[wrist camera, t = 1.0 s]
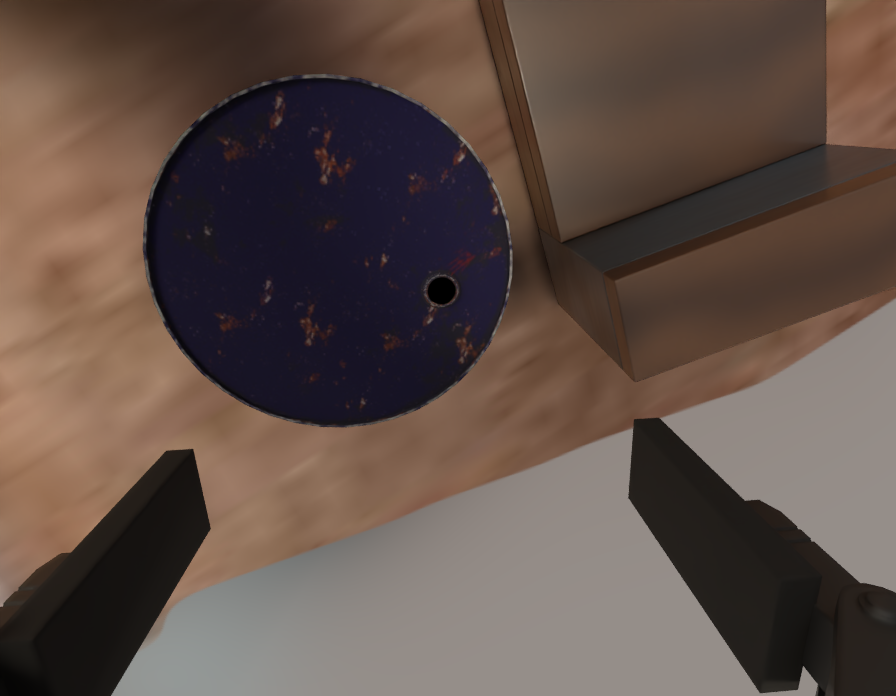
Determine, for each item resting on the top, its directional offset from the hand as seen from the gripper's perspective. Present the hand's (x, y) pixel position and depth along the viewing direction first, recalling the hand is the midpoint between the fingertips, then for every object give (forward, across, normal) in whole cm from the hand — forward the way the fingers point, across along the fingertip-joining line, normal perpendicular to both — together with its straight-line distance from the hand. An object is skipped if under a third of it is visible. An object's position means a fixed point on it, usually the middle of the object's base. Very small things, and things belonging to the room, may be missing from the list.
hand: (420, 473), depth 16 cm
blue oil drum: (+15, -3, +8) cm, 17 cm away
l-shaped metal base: (+16, +13, +11) cm, 23 cm away
